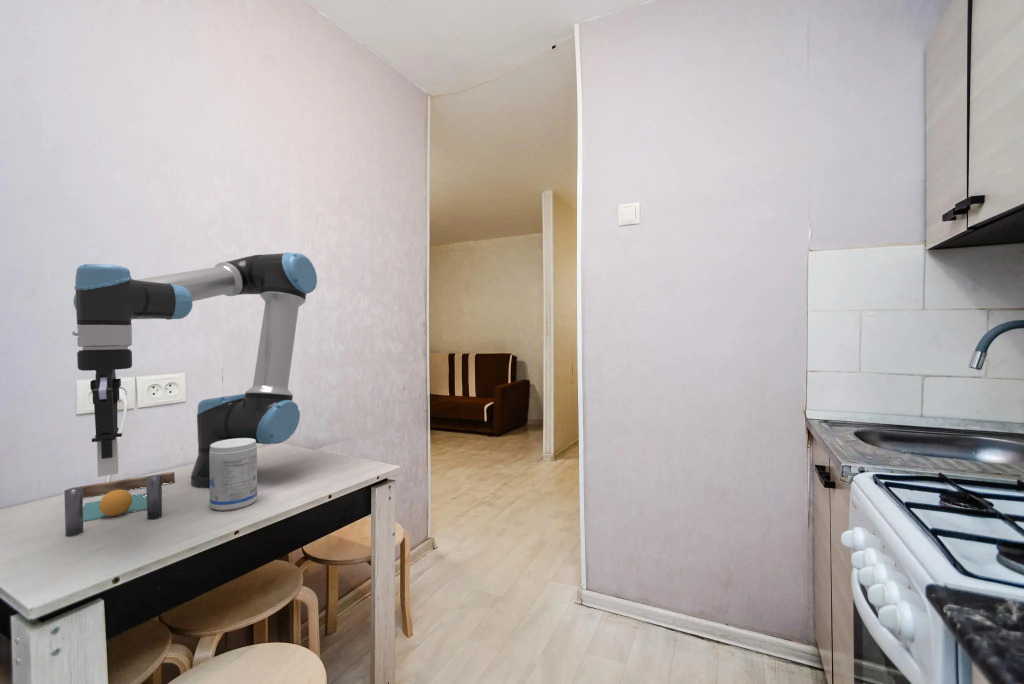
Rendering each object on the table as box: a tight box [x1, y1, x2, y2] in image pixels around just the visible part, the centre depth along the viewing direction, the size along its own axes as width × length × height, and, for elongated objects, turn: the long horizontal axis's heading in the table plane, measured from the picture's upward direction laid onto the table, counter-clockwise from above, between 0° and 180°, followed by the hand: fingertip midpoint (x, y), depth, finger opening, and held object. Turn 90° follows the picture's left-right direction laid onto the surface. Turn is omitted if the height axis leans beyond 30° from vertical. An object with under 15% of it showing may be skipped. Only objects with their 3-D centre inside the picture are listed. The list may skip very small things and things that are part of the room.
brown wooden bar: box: [73, 471, 176, 498], centre depth 115 cm, size 20×2×2 cm, turn 128°
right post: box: [145, 474, 163, 520], centre depth 97 cm, size 3×3×9 cm
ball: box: [99, 490, 132, 517], centre depth 99 cm, size 6×6×6 cm
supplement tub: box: [209, 438, 258, 512], centre depth 104 cm, size 10×10×15 cm
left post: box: [63, 486, 84, 538], centre depth 89 cm, size 3×3×9 cm
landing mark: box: [83, 492, 147, 523], centre depth 104 cm, size 14×14×1 cm
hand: (108, 474), depth 83 cm, fingers closed
